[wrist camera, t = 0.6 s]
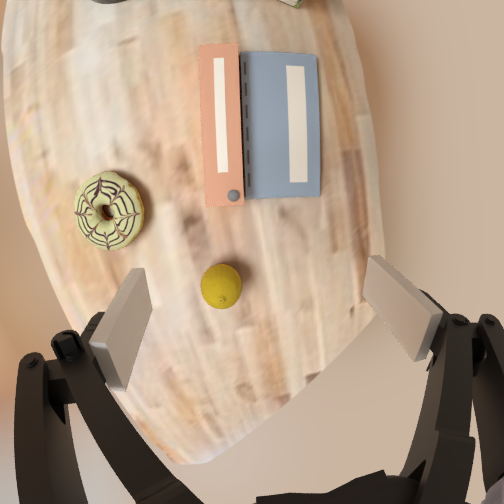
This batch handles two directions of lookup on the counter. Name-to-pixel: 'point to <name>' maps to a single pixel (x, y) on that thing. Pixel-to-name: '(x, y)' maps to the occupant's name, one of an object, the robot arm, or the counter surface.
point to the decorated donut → (121, 202)
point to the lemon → (221, 286)
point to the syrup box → (292, 2)
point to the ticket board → (280, 124)
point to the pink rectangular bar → (221, 124)
